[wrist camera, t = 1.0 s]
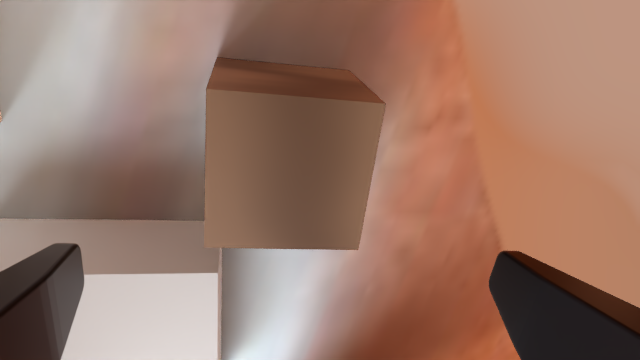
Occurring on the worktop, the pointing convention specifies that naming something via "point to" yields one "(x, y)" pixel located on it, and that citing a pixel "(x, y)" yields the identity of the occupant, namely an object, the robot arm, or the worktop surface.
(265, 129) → the walnut cube
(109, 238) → the base block
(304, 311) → the worktop surface
